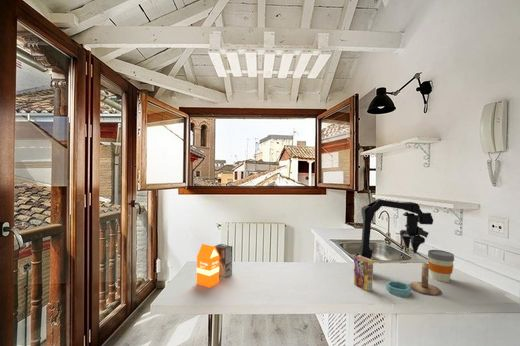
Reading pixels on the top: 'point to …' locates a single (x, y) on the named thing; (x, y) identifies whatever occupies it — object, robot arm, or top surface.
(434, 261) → the reusable coffee cup
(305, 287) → the top surface
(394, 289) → the bowl
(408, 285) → the mat
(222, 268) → the coffee box
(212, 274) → the orange juice
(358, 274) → the candy box
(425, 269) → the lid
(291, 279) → the top surface
